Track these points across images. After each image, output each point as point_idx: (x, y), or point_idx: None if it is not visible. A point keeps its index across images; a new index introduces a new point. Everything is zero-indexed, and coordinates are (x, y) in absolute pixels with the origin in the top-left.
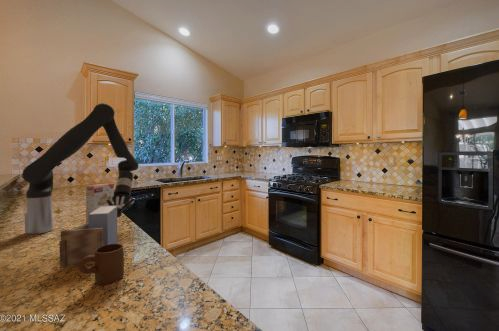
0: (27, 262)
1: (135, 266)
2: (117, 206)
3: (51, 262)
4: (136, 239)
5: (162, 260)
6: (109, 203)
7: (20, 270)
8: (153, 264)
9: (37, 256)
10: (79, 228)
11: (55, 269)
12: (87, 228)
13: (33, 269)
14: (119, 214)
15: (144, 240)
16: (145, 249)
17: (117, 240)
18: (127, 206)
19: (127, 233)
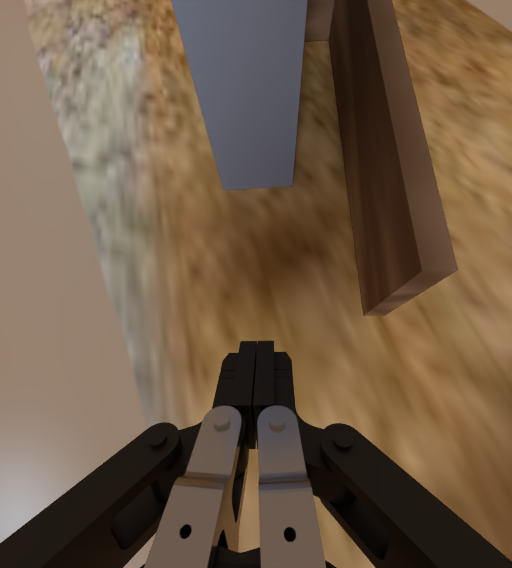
0: (488, 69)
1: (133, 10)
2: (271, 441)
3: None
4: (141, 211)
5: (61, 29)
6: (456, 529)
7: (457, 26)
8: (87, 14)
9: (496, 108)
10: (384, 6)
11: None
12: (371, 89)
13: (420, 27)
14: (237, 355)
15: (105, 191)
16: (104, 103)
17: (221, 182)
18: (133, 523)
19: (199, 323)
